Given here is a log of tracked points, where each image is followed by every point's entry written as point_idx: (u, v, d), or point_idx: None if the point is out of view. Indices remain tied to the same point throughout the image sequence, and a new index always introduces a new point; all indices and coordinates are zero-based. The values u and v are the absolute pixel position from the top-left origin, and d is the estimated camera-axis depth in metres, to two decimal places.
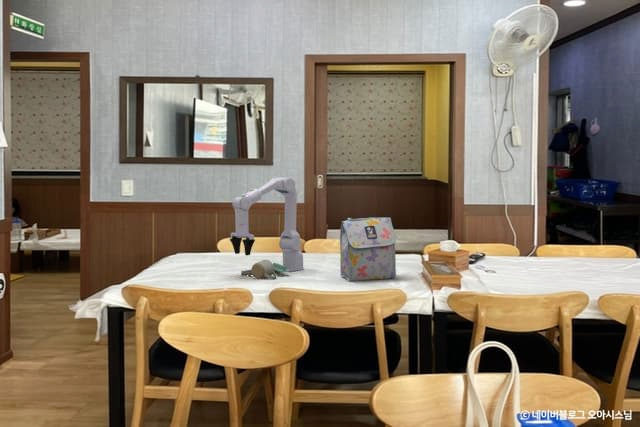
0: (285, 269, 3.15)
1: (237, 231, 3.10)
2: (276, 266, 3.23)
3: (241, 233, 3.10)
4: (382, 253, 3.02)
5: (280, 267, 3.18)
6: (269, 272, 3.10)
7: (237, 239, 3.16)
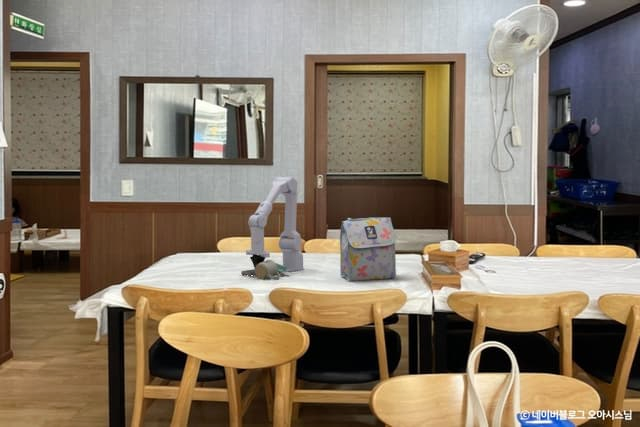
0: (285, 269, 3.15)
1: (253, 249, 3.12)
2: None
3: (257, 251, 3.11)
4: (382, 253, 3.02)
5: (280, 267, 3.18)
6: (272, 272, 3.09)
7: None
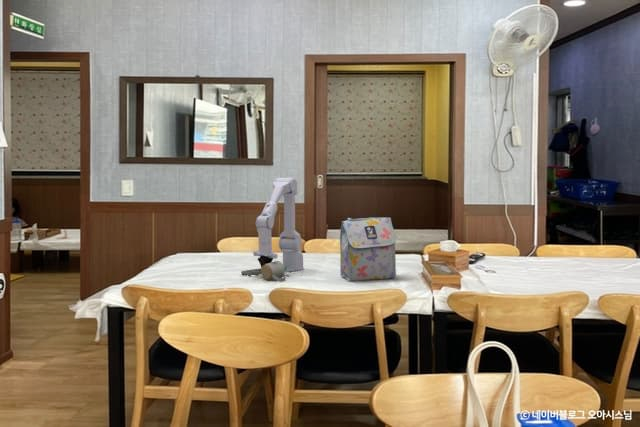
0: (285, 269, 3.15)
1: (260, 250, 3.08)
2: None
3: (264, 252, 3.07)
4: (382, 253, 3.02)
5: None
6: (278, 274, 3.05)
7: None
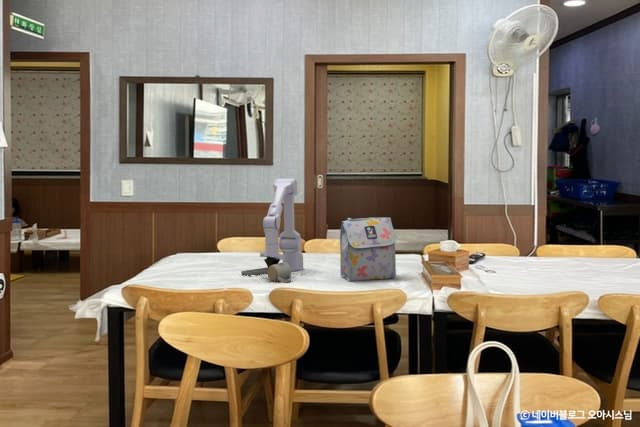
0: None
1: (267, 251, 3.05)
2: None
3: (271, 253, 3.04)
4: (382, 253, 3.02)
5: None
6: (284, 275, 3.01)
7: None
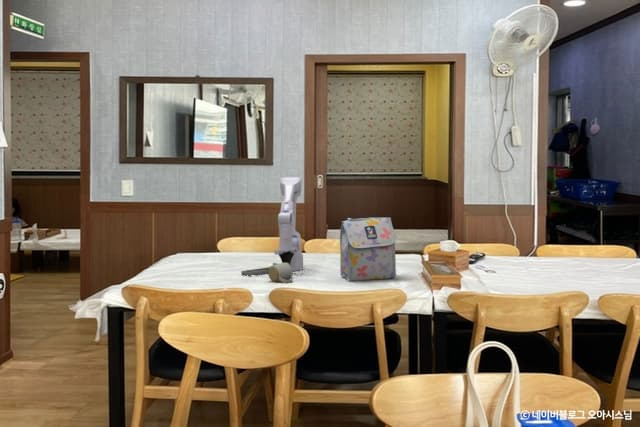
0: None
1: None
2: None
3: (279, 247, 3.17)
4: (382, 253, 3.02)
5: None
6: (285, 275, 3.00)
7: None
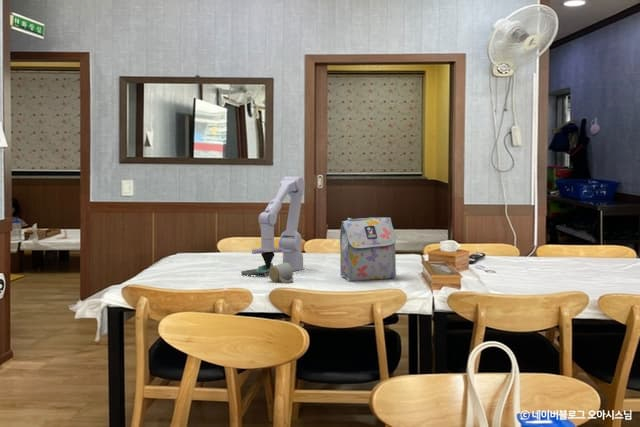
0: (259, 269, 3.14)
1: None
2: None
3: None
4: (382, 253, 3.02)
5: None
6: (286, 276, 3.00)
7: None
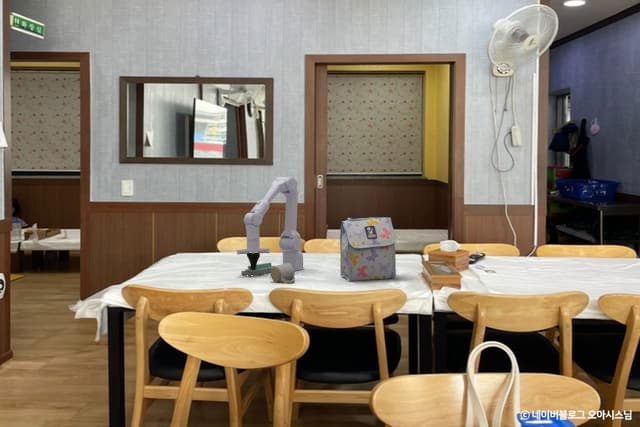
0: (249, 268, 3.17)
1: None
2: None
3: None
4: (382, 253, 3.02)
5: None
6: (288, 276, 2.99)
7: (253, 255, 3.16)
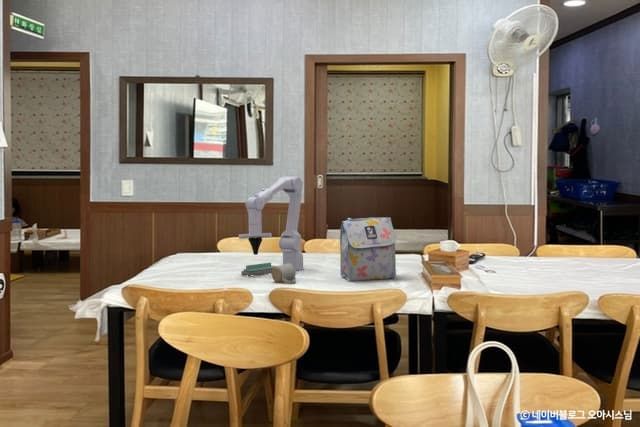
0: (246, 268, 3.18)
1: None
2: None
3: None
4: (382, 253, 3.02)
5: None
6: (289, 276, 2.98)
7: None
